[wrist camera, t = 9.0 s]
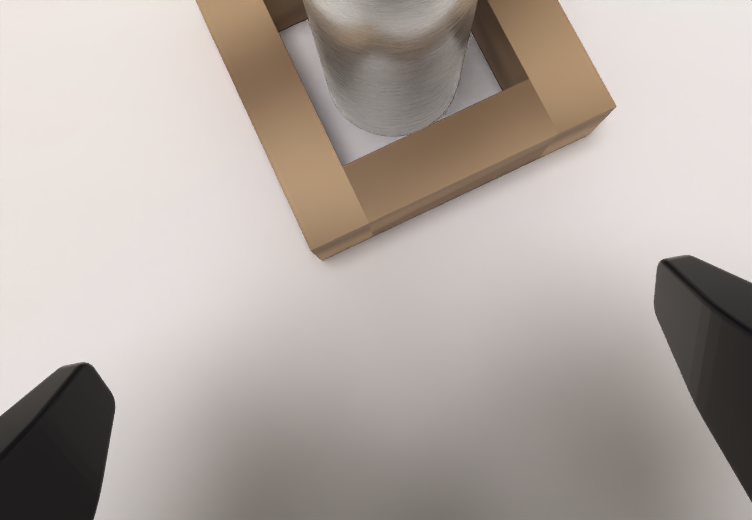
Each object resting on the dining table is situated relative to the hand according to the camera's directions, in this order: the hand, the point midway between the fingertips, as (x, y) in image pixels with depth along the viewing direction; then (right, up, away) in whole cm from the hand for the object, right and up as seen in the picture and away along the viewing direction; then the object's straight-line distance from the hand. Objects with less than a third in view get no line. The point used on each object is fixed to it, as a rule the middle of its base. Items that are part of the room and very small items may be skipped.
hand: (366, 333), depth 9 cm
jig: (+1, +8, +11) cm, 14 cm away
